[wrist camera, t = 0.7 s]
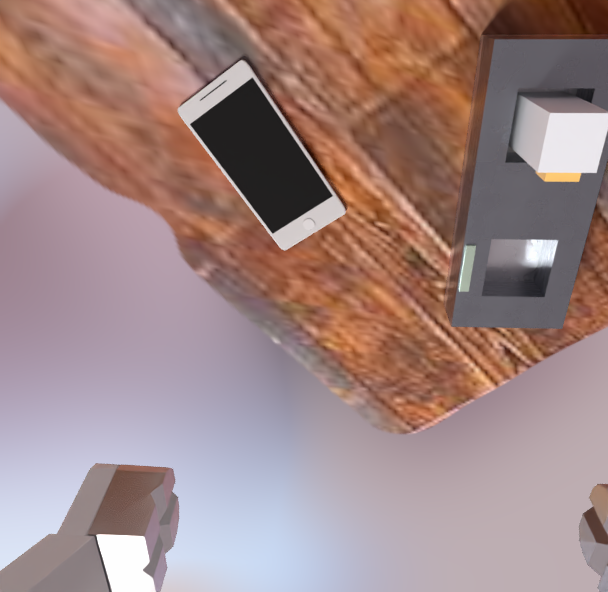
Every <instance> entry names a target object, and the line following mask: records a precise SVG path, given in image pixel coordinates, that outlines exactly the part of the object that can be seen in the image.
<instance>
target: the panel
mask: <svg viewBox="0 0 608 592" xmlns="http://www.w3.org/2000/svg"><path fill="white" fill-rule="evenodd" d="M518 92H568V93H570V94H572V95H574V96H577V97H579V98H581V99H583V100H585V101H587V102H589V103H591V104H594V105H596V106H598V107H600V108H602V109H604V110H606V111H608V34H547V35H481V40H480V47H479V54H478V61H477V68H476V76H475V83H474V90H473V97H472V104H471V112H470V119H469V126H468V133H467V140H466V148H465V155H464V162H463V169H462V176H461V183H460V191H459V198H458V205H457V212H456V219H455V227H454V234H453V241H452V248H451V255H450V263H449V270H448V277H447V284H446V291H445V298H444V307H445V310H446V313H447V315H448V318H449V321H450V324H451V327H503V328H556V329H562V327H563V324H564V320H565V316H566V312H567V309H568V305H569V301H570V298H571V294H572V290H573V286H574V283H575V279H576V275H577V272H578V268H579V264H580V260H581V257H582V253H583V249H584V246H585V242H586V238H587V234H588V231H589V227H590V223H591V220H592V216H593V212H594V208H595V205H596V201H597V197H598V194H599V190H600V186H601V182H602V179H603V175H604V171H605V168H606V164H607V160H608V131H607V135H606V138H605V142H604V146H603V150H602V154H601V157H600V161H599V165H598V169H597V173H581V176H580V180H579V182H545V181H543V180H542V179H541V178H540V177H539V176H538V175H537V174H536V170H534V169H533V168H532V167H531V166H530V165H529V164H528V163H527V162H526V161H525V160H524V159H523V158H522V157H520V156H519V155H518V154H517V153H516V152H515V151H514V150H513V149H512V148H511V147H510V146H509V145H508V144H509V138H510V133H511V127H512V121H513V116H514V110H515V104H516V99H517V93H518Z"/></svg>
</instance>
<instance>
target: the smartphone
mask: <svg viewBox="0 0 608 592" xmlns="http://www.w3.org/2000/svg"><path fill="white" fill-rule="evenodd" d="M178 113H179V115H180V117H181V118H182V119H183V121H184V122H185V123H186V125H187V126H188V127H189V128H190V130H191V131H192V132H193V134H194V135H195V136H196V138H197V139H198V140H199V142H200V143H201V144H202V146H203V147H204V148H205V150H206V151H207V152H208V154H209V155H210V156H211V157H212V159H213V160H214V161H215V163H216V164H217V165H218V167H219V168H220V169H221V171H222V172H223V173H224V175H225V176H226V177H227V179H228V180H229V181H230V183H231V184H232V185H233V186H234V188H235V189H236V190H237V192H238V193H239V194H240V196H241V197H242V198H243V200H244V201H245V202H246V204H247V205H248V206H249V208H250V209H251V210H252V211H253V213H254V214H255V215H256V217H257V218H258V219H259V221H260V222H261V223H262V225H263V226H264V227H265V229H266V230H267V231H268V233H269V234H270V235H271V237H272V238H273V239H274V240H275V242H276V243H277V244H278V246H279V247H280V248H281V249H282V250H287V249H288V248H290V247H292V246H293V245H295V244H297V243H298V242H300V241H301V240H303V239H305V238H306V237H308V236H310V235H311V234H313V233H315V232H316V231H318V230H319V229H321V228H323V227H324V226H326V225H328V224H329V223H331V222H333V221H334V220H336V219H337V218H339V217H341V216H342V215H344V214H345V213H346V210H345V207H344V205H343V203H342V202H341V200H340V199H339V197H338V196H337V194H336V193H335V191H334V190H333V188H332V187H331V185H330V184H329V182H328V181H327V179H326V178H325V177H324V175H323V174H322V172H321V171H320V169H319V168H318V166H317V165H316V163H315V162H314V160H313V159H312V157H311V156H310V154H309V153H308V151H307V150H306V148H305V147H304V145H303V144H302V142H301V141H300V139H299V138H298V136H297V135H296V133H295V132H294V131H293V129H292V128H291V126H290V125H289V123H288V122H287V120H286V119H285V117H284V116H283V114H282V113H281V111H280V110H279V108H278V107H277V105H276V104H275V102H274V101H273V99H272V98H271V96H270V95H269V93H268V92H267V90H266V89H265V87H264V86H263V85H262V83H261V82H260V80H259V79H258V77H257V76H256V74H255V73H254V71H253V70H252V68H251V67H250V65H249V64H248V63H247V62H246V61H245V60H240V61H239V62H238V63H236V64H235V65H234V66H232V67H231V68H230V69H228V70H227V71H226V72H225V73H223V74H222V75H221V76H219V77H218V78H217V79H215V80H214V81H213V82H211V83H210V84H209V85H208V86H206V87H205V88H204V89H202V90H201V91H200V92H198V93H197V94H196V95H194V96H193V97H192V98H191V99H189V100H188V101H187V102H185V103H184V104H183V105H181V106H180V107H179V108H178Z"/></svg>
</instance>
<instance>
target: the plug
mask: <svg viewBox="0 0 608 592" xmlns="http://www.w3.org/2000/svg"><path fill="white" fill-rule="evenodd" d="M607 131H608V111H606V110H604V109H602V108H600V107H598V106H596V105H594V104H591V103H589V102H587V101H585V100H583V99H581V98H579V97H577V96H574V95H572V94H570V93H568V92H518V93H517V99H516V104H515V110H514V116H513V121H512V127H511V133H510V138H509V144H508V145H509V146H510V147H511V148H512V149H513V150H514V151H515V152H516V153H517V154H518V155H519V156H520V157H522V158H523V159H524V160H525V161H526V162H527V163H528V164H529V165H530V166H531V167H532V168H533V169H534V170H536V174H537V175H538V176H539V177H540V178H541V179H542V180H543V181H545V182H579V180H580V176H581V173H597V169H598V165H599V161H600V157H601V154H602V150H603V146H604V142H605V138H606V135H607Z"/></svg>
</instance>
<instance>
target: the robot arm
mask: <svg viewBox="0 0 608 592" xmlns="http://www.w3.org/2000/svg"><path fill="white" fill-rule="evenodd" d="M174 484H175V477H174V471H173V469H172V468H166V467H151V466H135V465H114V464H98V463H96V464H95V465H94V466H93V467H92V468H91V469H90V470H89V472H88V474H87V476H86V478H85V480H84V482H83V484H82V486H81V488H80V490H79V492H78V494H77V496H76V498H75V500H74V502H73V503H72V506H71V507H70V509H69V511H68V513H67V516H66V517H65V519H64V522H63V523H62V526H61V527H60V529H59V531H58V533H57V534H49V535H47V536H46V537H45V538H43V539H42V540H41V541H40V542H38V543H37V544H35V545H34V546H33V547H31V548H30V549H29V550H28V551H26V552H25V553H24V554H22V555H21V556H20V557H18V558H17V559H16V560H14V561H13V562H12V563H10V564H9V565H8V566H6V567H5V568H4V569H2V570H1V571H0V592H160V591H161V587H162V584H163V580H164V577H165V573H166V570H167V564H166V558H165V553H166V552H168V551H169V550H170V549H171V548H172V547H173V545H174V541H175V538H176V534H177V528H178V521H179V502H178V497H177V496H176V495H175V494H174V493H173V492H172V490H173V487H174ZM589 499H590V501H591V503H592V505H593V507H592V508H590V509H589V510H587V511H586V512H585V513H583V515H582V518H581V521H580V525H579V541H580V545H581V548H582V553H583V555H584V557H585V560H586V562H587V564H588V566H590V567H591V568H592V569H593V570H594V571H595V572H597V573H598V574H599V575H600V576H601V579H600V582H599V585H598V589H599V592H608V484H597V485H596V486H595V487H594V488H593V489H592V492H591V494H590V496H589Z"/></svg>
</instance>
